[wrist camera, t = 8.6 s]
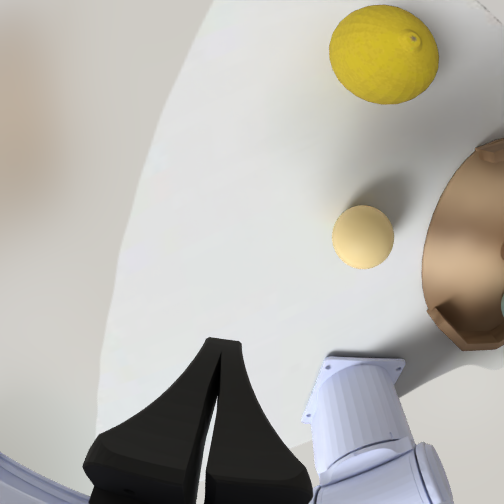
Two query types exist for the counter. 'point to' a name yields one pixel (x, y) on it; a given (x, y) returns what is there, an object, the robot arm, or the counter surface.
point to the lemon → (383, 54)
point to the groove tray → (468, 253)
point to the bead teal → (502, 305)
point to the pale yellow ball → (363, 237)
